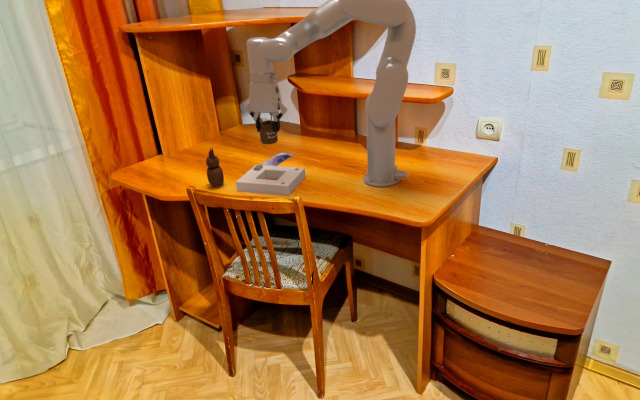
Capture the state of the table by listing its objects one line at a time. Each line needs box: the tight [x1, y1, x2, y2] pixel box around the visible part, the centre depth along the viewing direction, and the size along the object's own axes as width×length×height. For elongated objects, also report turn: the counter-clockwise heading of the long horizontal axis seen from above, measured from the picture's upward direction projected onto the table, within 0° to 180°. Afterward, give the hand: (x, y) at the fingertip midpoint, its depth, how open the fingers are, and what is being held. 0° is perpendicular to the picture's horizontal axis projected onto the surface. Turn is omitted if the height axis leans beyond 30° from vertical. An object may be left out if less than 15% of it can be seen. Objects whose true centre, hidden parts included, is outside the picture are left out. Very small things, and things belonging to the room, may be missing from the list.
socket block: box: [235, 164, 307, 196], centre depth 163 cm, size 20×16×4 cm
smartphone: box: [259, 151, 294, 166], centre depth 185 cm, size 7×1×15 cm
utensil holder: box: [259, 112, 279, 146], centre depth 154 cm, size 6×6×12 cm
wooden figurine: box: [205, 147, 225, 188], centre depth 163 cm, size 7×6×15 cm
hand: (268, 130), depth 155 cm, fingers closed on utensil holder, 5 cm apart
